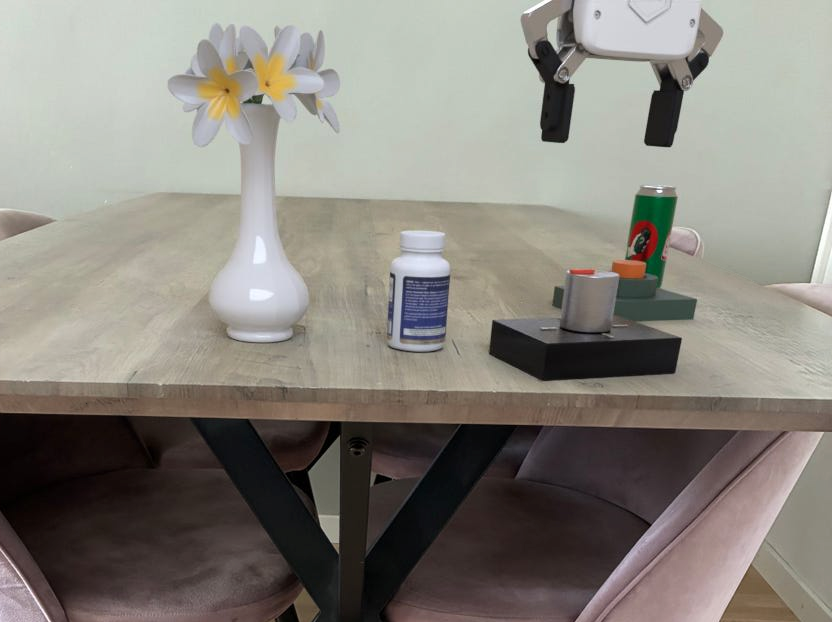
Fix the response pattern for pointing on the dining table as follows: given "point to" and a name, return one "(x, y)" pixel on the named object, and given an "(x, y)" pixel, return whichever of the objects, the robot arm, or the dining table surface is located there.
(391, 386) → the dining table surface
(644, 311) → the button block
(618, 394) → the dining table surface
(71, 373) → the dining table surface
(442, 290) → the pill bottle
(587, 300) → the dial
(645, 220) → the soda can
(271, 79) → the flower vase
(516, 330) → the dial panel
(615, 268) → the button
